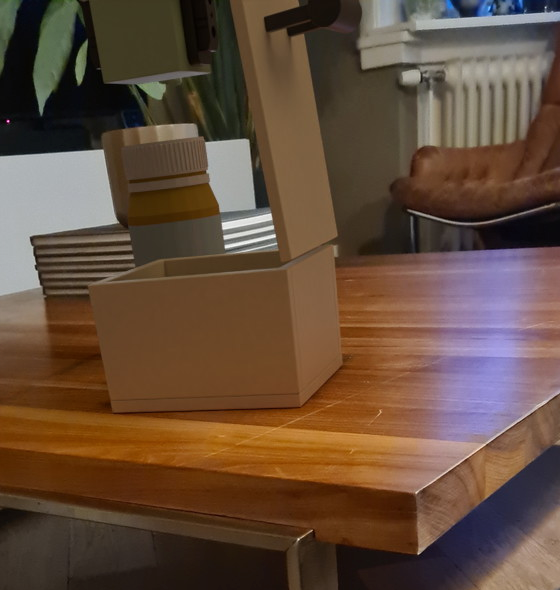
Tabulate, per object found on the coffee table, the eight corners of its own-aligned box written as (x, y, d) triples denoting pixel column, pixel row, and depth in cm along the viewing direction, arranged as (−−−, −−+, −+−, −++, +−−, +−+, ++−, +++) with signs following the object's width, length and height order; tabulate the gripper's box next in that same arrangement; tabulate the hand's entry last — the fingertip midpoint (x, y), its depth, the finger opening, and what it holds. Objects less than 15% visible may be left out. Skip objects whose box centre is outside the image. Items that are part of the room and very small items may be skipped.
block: (103, 83, 52) (85, -19, 50) (138, 84, 56) (123, -10, 54) (180, 71, 50) (165, -35, 48) (211, 73, 54) (199, -25, 52)
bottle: (253, 345, 73) (227, 133, 66) (176, 364, 69) (140, 143, 63) (210, 337, 78) (181, 140, 71) (136, 355, 75) (99, 149, 68)
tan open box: (112, 413, 58) (86, 285, 55) (176, 372, 67) (158, 259, 64) (300, 407, 54) (287, 268, 51) (343, 364, 63) (333, 244, 60)
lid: (224, -23, 45) (318, -54, 43) (286, -3, 54) (367, -28, 52) (280, 262, 51) (365, 245, 49) (328, 238, 60) (401, 223, 58)
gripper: (257, -339, 46) (293, 56, 54) (12, -265, 50) (79, 90, 58) (203, -408, 40) (252, 50, 48) (-71, -316, 44) (16, 89, 52)
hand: (156, 70), depth 53 cm, fingers closed on block, 4 cm apart
